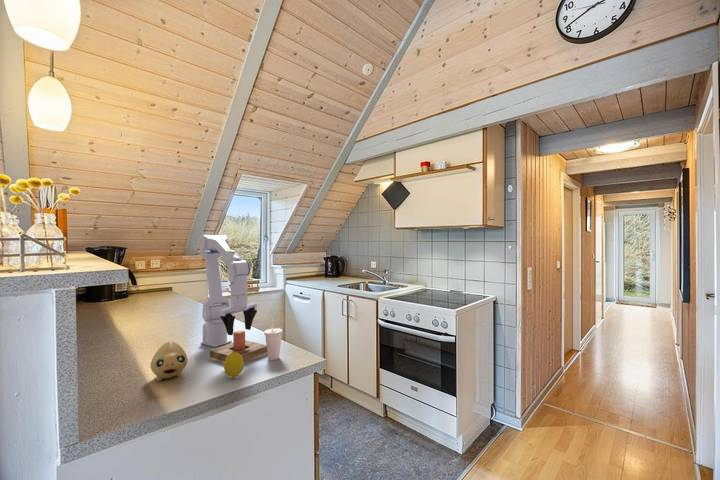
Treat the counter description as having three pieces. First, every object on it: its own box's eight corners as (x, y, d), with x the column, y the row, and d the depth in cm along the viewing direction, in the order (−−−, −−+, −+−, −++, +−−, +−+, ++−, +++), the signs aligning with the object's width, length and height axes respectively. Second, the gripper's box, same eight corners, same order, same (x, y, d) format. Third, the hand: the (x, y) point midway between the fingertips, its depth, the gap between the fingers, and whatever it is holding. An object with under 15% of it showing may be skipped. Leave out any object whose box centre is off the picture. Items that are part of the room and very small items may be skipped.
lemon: (232, 383, 95) (231, 356, 94) (220, 379, 97) (220, 352, 97) (247, 376, 99) (247, 350, 99) (236, 372, 102) (235, 347, 102)
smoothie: (260, 359, 113) (260, 319, 113) (273, 353, 119) (272, 315, 119) (274, 362, 110) (273, 321, 110) (286, 356, 116) (286, 317, 116)
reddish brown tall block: (231, 355, 116) (230, 332, 116) (239, 351, 119) (239, 330, 119) (238, 357, 114) (238, 334, 114) (247, 353, 118) (247, 331, 118)
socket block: (209, 358, 114) (209, 350, 114) (242, 347, 126) (242, 339, 126) (235, 366, 107) (235, 357, 107) (268, 353, 119) (268, 345, 119)
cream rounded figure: (150, 390, 91) (149, 352, 91) (150, 375, 101) (150, 341, 101) (189, 381, 96) (189, 345, 96) (186, 368, 106) (186, 335, 106)
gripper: (228, 298, 108) (229, 339, 108) (262, 292, 121) (262, 328, 121) (215, 296, 112) (215, 335, 112) (249, 290, 124) (249, 326, 124)
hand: (239, 331), depth 117 cm, fingers open, 7 cm apart
